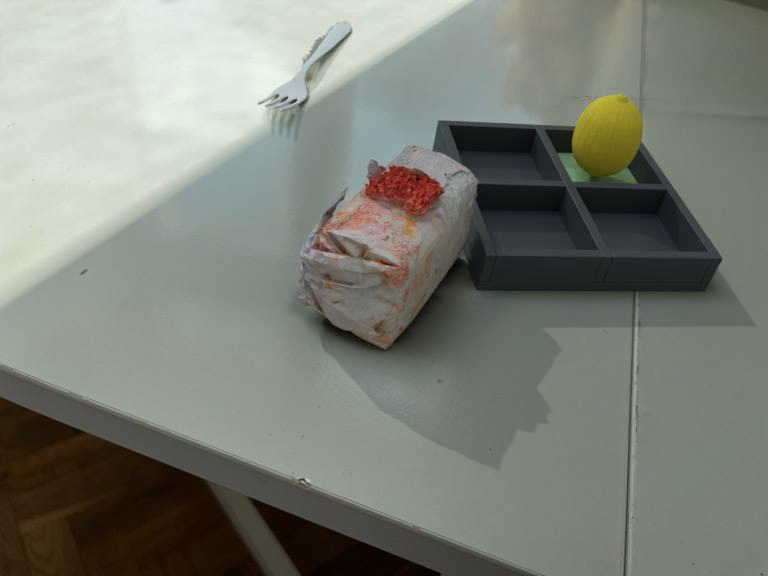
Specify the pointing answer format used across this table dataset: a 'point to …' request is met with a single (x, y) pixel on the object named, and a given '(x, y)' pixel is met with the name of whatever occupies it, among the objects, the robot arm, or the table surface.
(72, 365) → the table surface
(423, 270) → the food item
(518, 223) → the dark grey compartment tray
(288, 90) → the fork
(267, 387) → the table surface
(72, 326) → the table surface
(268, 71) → the table surface
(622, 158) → the lemon
